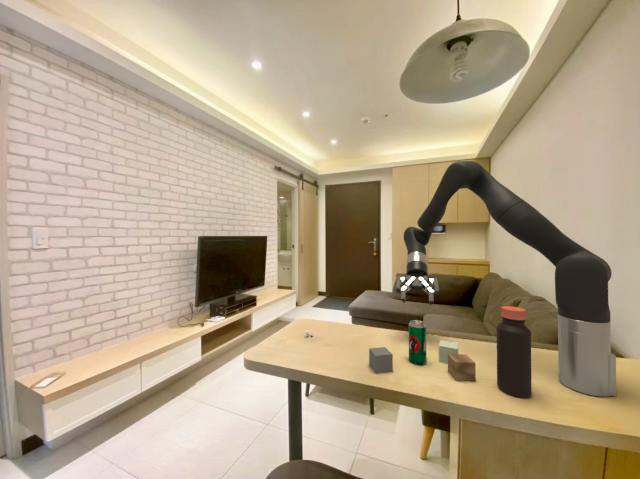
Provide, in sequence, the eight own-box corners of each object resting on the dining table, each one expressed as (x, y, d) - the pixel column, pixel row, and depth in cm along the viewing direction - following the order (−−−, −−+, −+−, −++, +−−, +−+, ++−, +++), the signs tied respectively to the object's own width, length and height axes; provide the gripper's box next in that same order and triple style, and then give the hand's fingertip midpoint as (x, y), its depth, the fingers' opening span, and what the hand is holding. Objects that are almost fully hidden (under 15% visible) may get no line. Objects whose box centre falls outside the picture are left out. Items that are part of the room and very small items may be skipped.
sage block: (458, 359, 80) (458, 343, 80) (457, 366, 75) (457, 349, 76) (440, 355, 82) (440, 340, 82) (439, 362, 78) (438, 345, 78)
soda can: (428, 366, 75) (427, 325, 75) (409, 364, 76) (409, 324, 76) (424, 358, 80) (424, 320, 80) (407, 357, 81) (407, 319, 81)
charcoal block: (385, 363, 77) (385, 347, 77) (392, 372, 72) (392, 354, 72) (369, 365, 76) (369, 348, 76) (375, 373, 71) (375, 355, 71)
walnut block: (466, 372, 72) (466, 354, 72) (475, 382, 67) (475, 362, 67) (447, 371, 72) (447, 353, 73) (455, 381, 68) (455, 362, 68)
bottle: (538, 394, 61) (537, 310, 62) (520, 401, 59) (520, 313, 59) (507, 380, 68) (507, 304, 68) (490, 386, 65) (490, 306, 65)
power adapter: (309, 336, 101) (309, 328, 101) (313, 337, 99) (313, 329, 99) (303, 338, 98) (303, 330, 98) (308, 340, 97) (308, 331, 97)
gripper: (397, 259, 100) (395, 294, 89) (437, 260, 95) (440, 298, 84) (398, 271, 105) (396, 306, 94) (436, 273, 100) (439, 310, 89)
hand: (417, 302), depth 89 cm, fingers open, 8 cm apart
